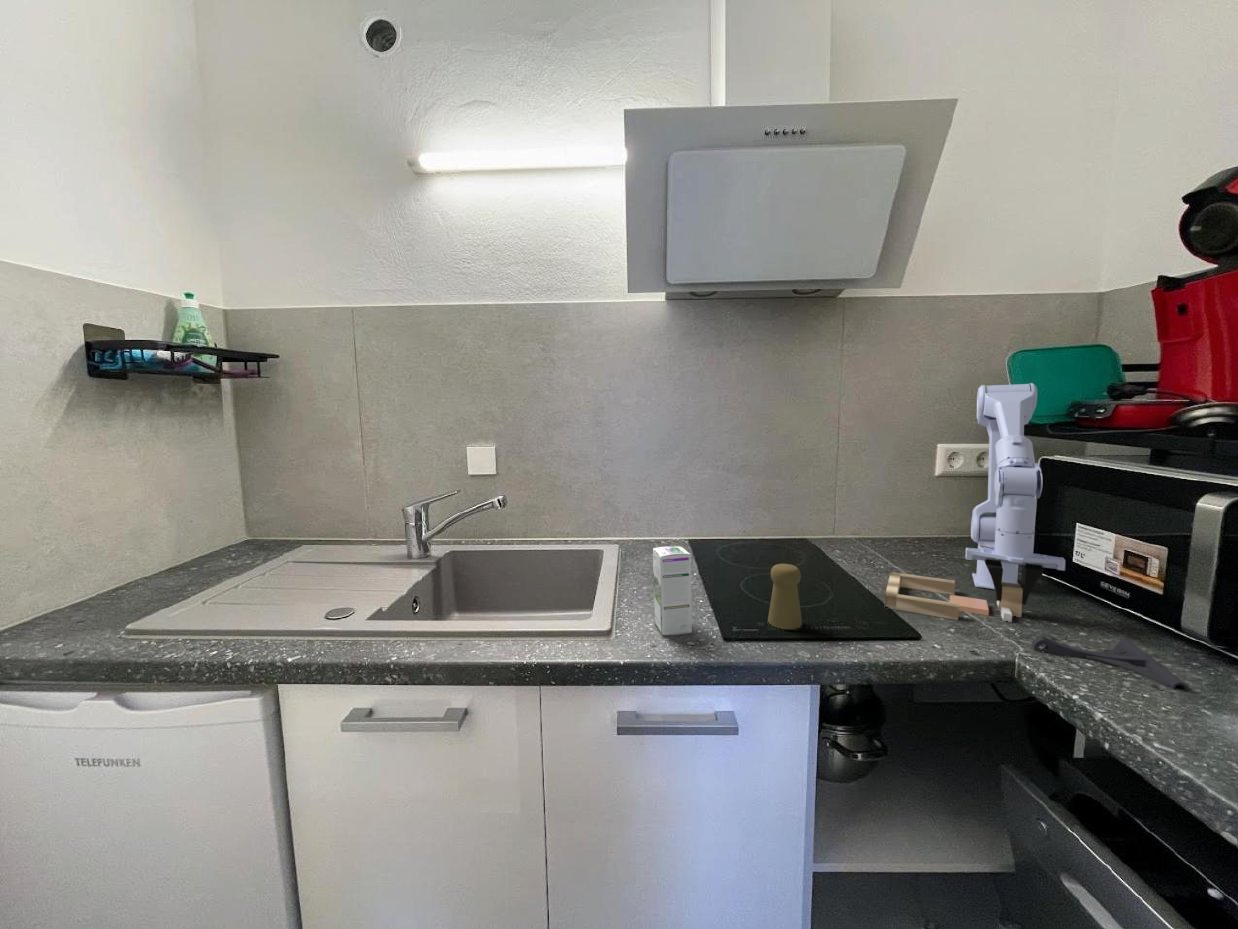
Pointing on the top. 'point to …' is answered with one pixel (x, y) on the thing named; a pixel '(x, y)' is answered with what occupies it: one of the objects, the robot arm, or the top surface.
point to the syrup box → (672, 590)
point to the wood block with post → (1010, 601)
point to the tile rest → (921, 604)
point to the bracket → (1116, 659)
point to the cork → (785, 597)
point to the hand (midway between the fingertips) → (1010, 601)
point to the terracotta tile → (971, 604)
